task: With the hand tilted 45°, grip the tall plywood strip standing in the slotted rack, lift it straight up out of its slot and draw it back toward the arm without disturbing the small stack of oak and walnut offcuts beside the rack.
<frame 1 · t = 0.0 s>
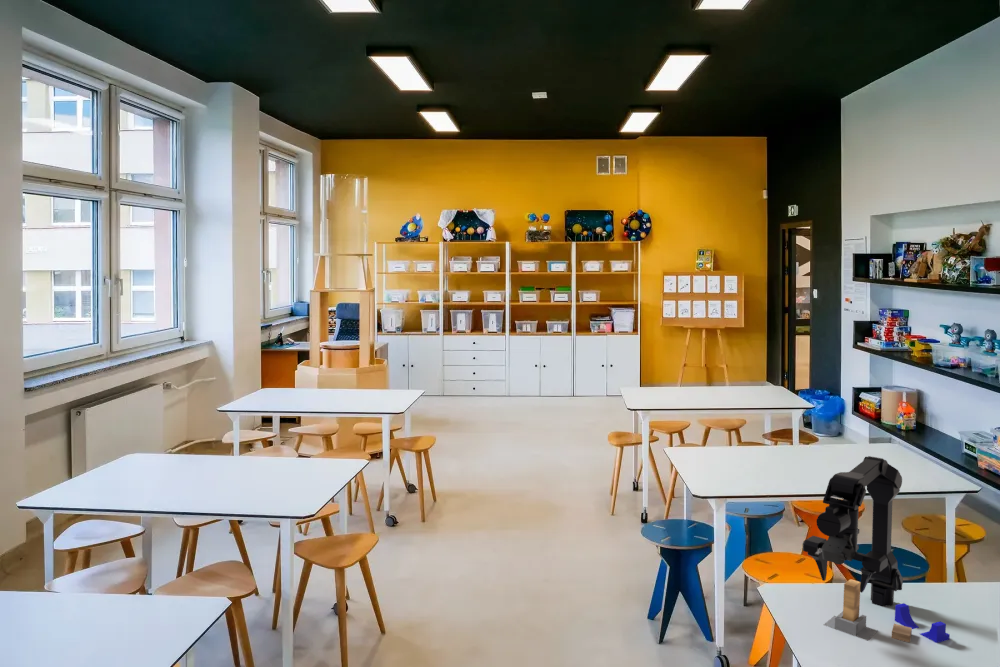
hand: (842, 586, 182), 15 cm above the table, tool pointing down, fingers open, 9 cm apart
lower offcut: (901, 643, 183), on the table, touching upper offcut
rack: (850, 633, 188), on the table
tall strip: (850, 627, 187), point 1 cm above the table, touching rack
upper offcut: (901, 636, 183), point 1 cm above the table, touching lower offcut
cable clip: (920, 636, 186), on the table
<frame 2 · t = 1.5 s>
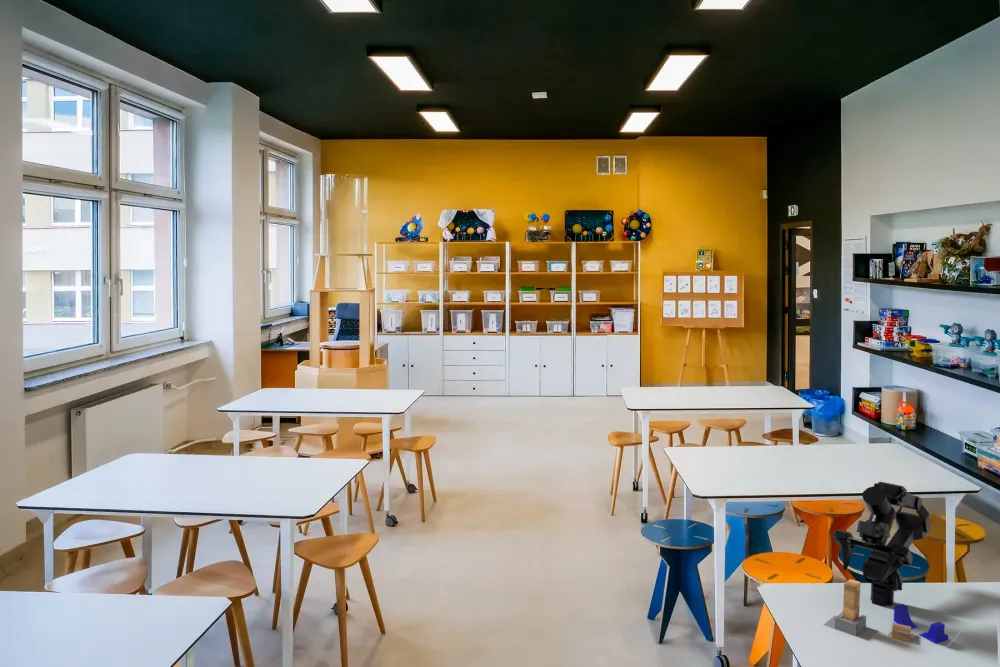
hand: (862, 575, 191), 14 cm above the table, tool tilted 45°, fingers open, 9 cm apart
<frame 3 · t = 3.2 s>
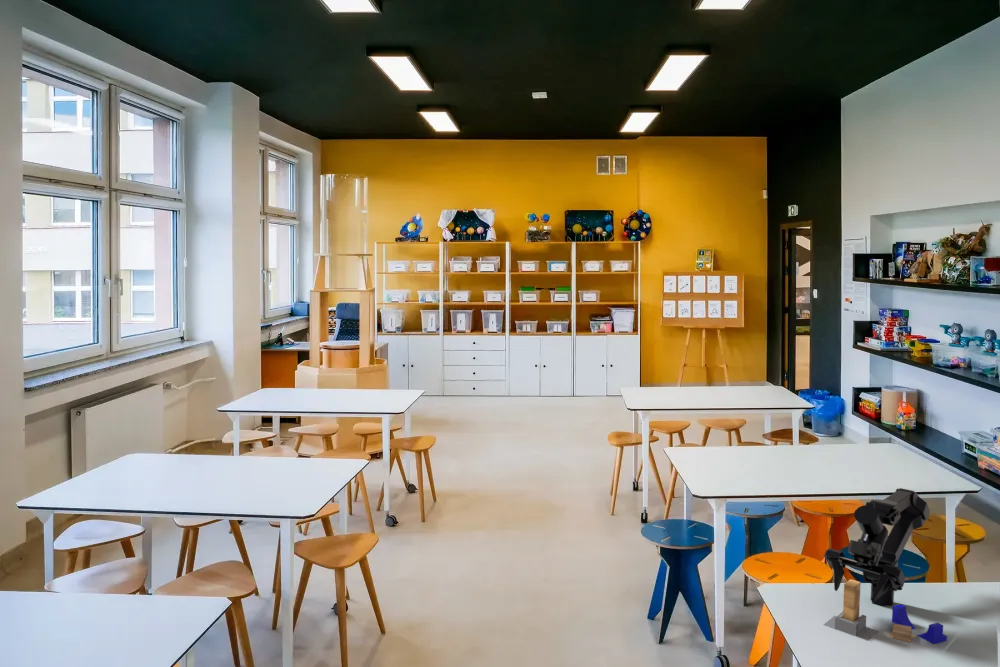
hand: (853, 595, 187), 10 cm above the table, tool tilted 45°, fingers open, 9 cm apart
lower offcut: (901, 643, 183), on the table
upper offcut: (901, 635, 183), point 1 cm above the table
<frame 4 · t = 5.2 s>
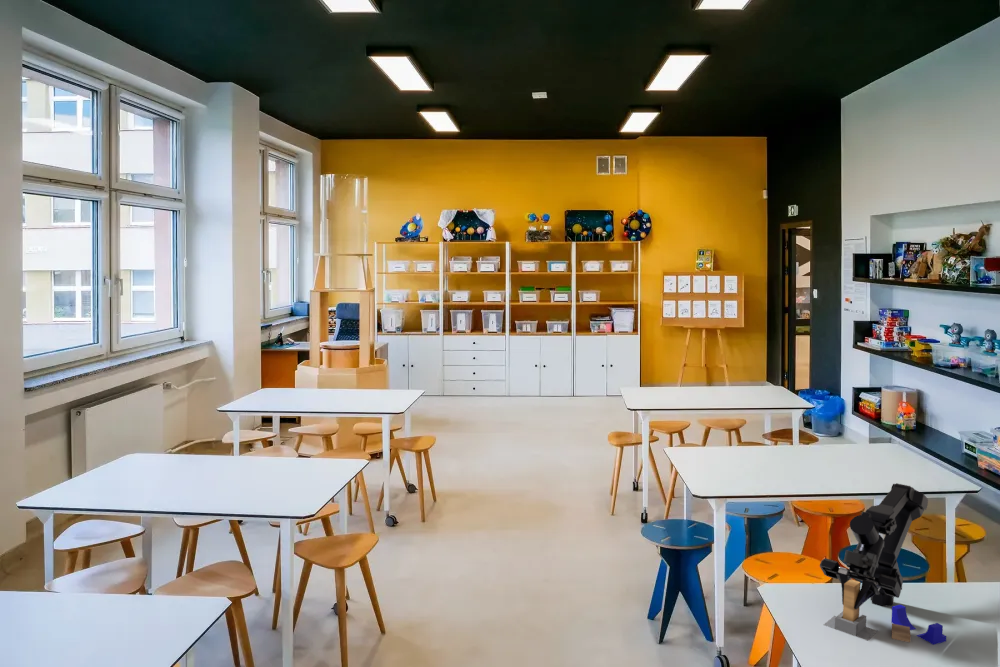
hand: (849, 606, 186), 8 cm above the table, tool tilted 45°, fingers closed on tall strip, 2 cm apart
lower offcut: (900, 643, 183), on the table, touching upper offcut
tall strip: (850, 627, 187), point 1 cm above the table, touching gripper, rack
upper offcut: (900, 636, 183), point 1 cm above the table, touching lower offcut
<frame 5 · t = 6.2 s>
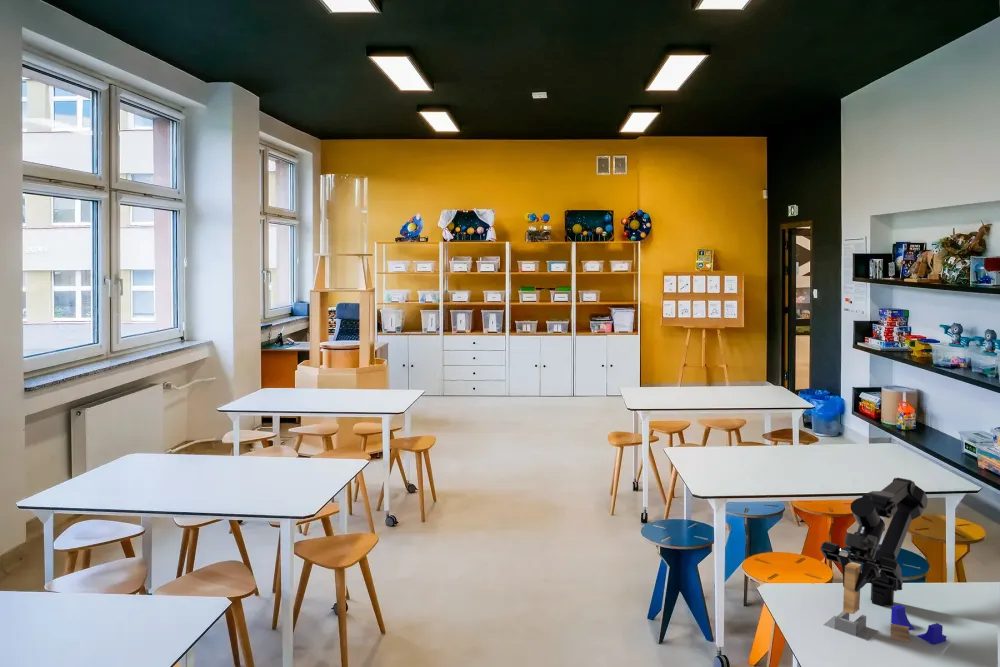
hand: (850, 589, 185), 12 cm above the table, tool tilted 45°, fingers closed on tall strip, 2 cm apart
tall strip: (851, 610, 187), point 6 cm above the table, touching gripper
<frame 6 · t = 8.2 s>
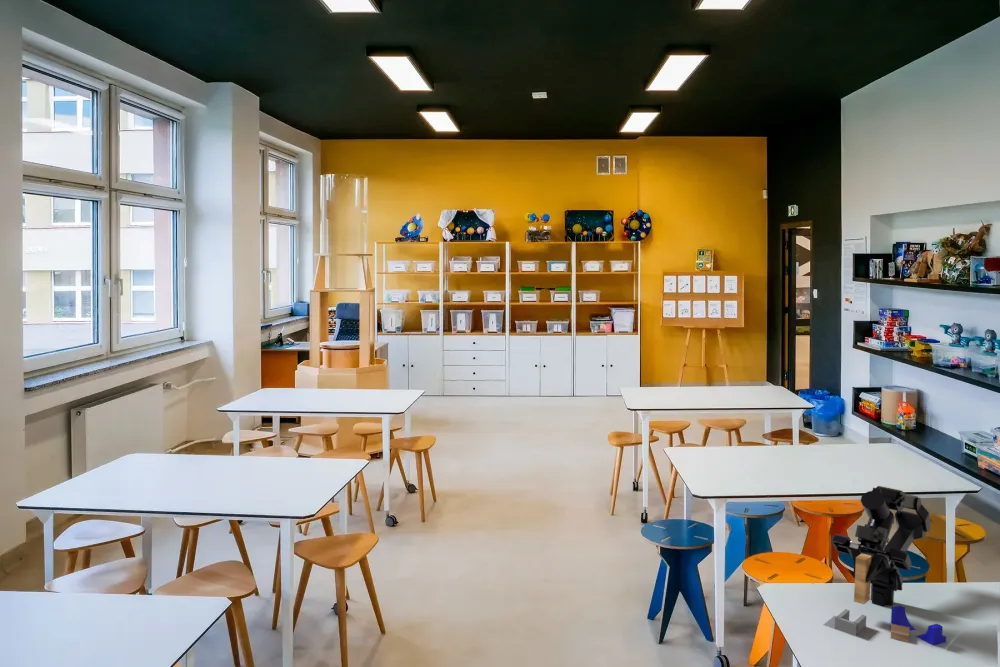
hand: (860, 580, 190), 13 cm above the table, tool tilted 45°, fingers closed on tall strip, 2 cm apart
lower offcut: (899, 644, 183), on the table, touching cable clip
tall strip: (861, 600, 192), point 6 cm above the table, touching gripper
upper offcut: (899, 636, 183), point 1 cm above the table
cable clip: (917, 639, 185), on the table, touching lower offcut
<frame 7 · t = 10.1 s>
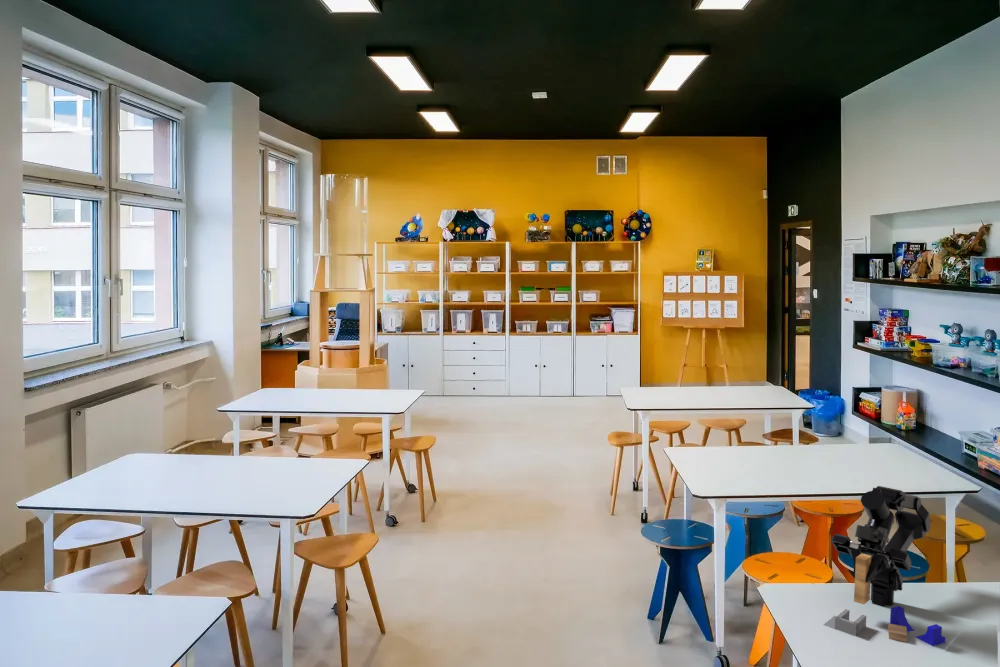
hand: (860, 580, 190), 13 cm above the table, tool tilted 45°, fingers closed on tall strip, 2 cm apart
lower offcut: (897, 644, 183), on the table
tall strip: (861, 600, 192), point 6 cm above the table, touching gripper
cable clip: (916, 639, 185), on the table
everything else where it was.
at the end: the gripper is holding tall strip; tall strip point 6.5 cm above the table; upper offcut moved 1.1 cm from its start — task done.
